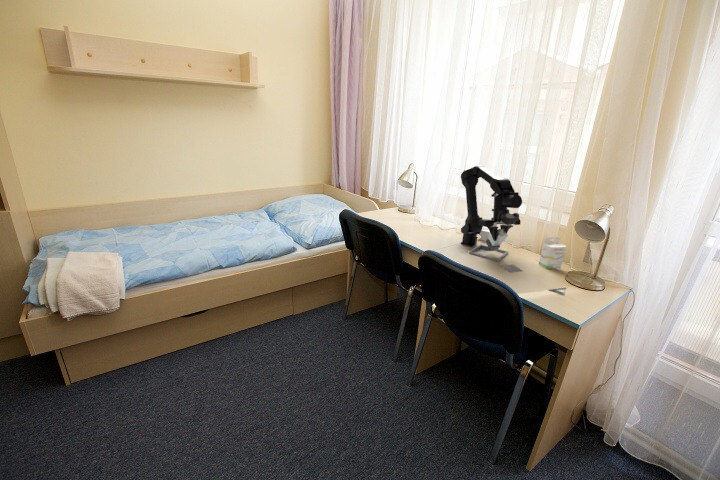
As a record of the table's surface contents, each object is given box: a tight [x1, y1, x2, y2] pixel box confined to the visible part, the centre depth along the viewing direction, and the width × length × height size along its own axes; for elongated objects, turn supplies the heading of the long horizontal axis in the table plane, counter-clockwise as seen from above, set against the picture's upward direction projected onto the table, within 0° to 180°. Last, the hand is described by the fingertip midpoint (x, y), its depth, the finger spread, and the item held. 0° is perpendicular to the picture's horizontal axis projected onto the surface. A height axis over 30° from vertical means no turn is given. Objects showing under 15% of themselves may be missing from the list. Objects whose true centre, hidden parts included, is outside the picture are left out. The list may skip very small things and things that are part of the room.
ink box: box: [538, 236, 568, 271], centre depth 151 cm, size 9×5×15 cm, turn 105°
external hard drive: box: [548, 287, 567, 295], centre depth 138 cm, size 2×8×12 cm
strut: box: [485, 228, 509, 250], centre depth 158 cm, size 5×5×10 cm
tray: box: [468, 244, 509, 263], centre depth 164 cm, size 14×14×2 cm
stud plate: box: [500, 264, 524, 273], centre depth 149 cm, size 7×7×2 cm
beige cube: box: [479, 230, 492, 243], centre depth 187 cm, size 6×6×6 cm
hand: (498, 240), depth 156 cm, fingers closed on strut, 4 cm apart
